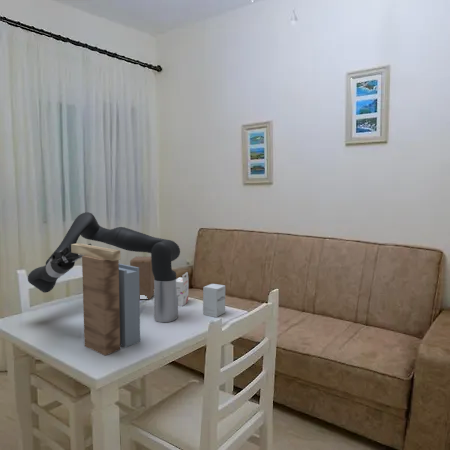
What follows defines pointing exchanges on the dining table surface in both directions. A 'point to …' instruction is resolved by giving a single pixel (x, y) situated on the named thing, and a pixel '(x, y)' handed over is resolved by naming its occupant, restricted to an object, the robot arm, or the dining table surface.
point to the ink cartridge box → (182, 289)
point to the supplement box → (214, 300)
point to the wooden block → (144, 275)
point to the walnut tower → (101, 304)
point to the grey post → (129, 305)
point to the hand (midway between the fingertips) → (80, 247)
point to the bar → (96, 251)
